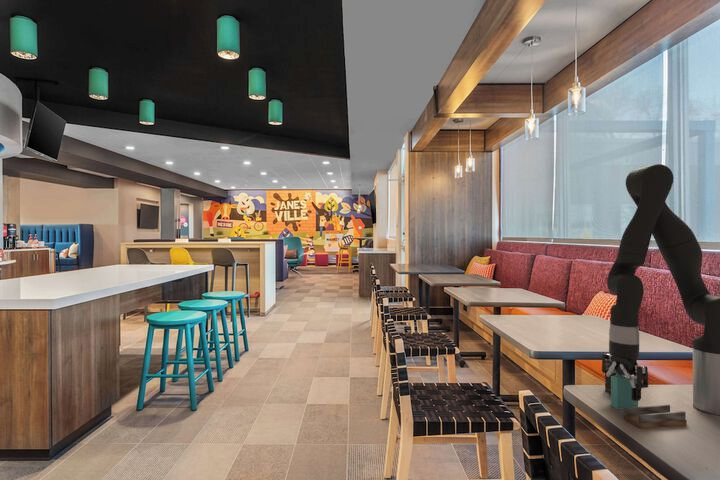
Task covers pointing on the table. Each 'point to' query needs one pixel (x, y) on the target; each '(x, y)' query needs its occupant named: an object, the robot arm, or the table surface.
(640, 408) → the floor track
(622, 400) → the teal rectangular block
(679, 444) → the table surface
